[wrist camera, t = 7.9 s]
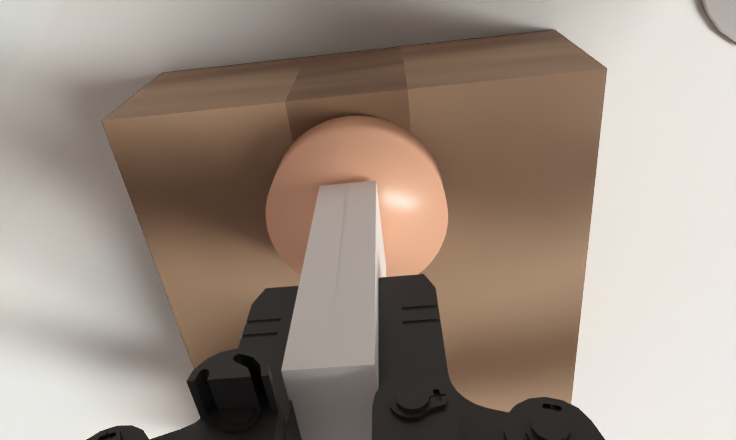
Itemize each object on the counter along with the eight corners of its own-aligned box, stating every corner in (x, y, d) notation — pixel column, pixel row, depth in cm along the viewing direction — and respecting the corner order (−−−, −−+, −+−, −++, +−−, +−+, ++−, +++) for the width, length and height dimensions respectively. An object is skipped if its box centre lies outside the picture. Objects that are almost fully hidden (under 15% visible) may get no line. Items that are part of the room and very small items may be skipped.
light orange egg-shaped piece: (284, 77, 19) (247, 146, 14) (426, 62, 19) (444, 126, 14) (307, 201, 22) (284, 300, 16) (433, 190, 21) (451, 287, 16)
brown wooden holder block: (162, 72, 20) (101, 121, 16) (555, 29, 19) (606, 68, 15) (271, 437, 30) (253, 527, 26) (532, 421, 29) (559, 513, 25)
